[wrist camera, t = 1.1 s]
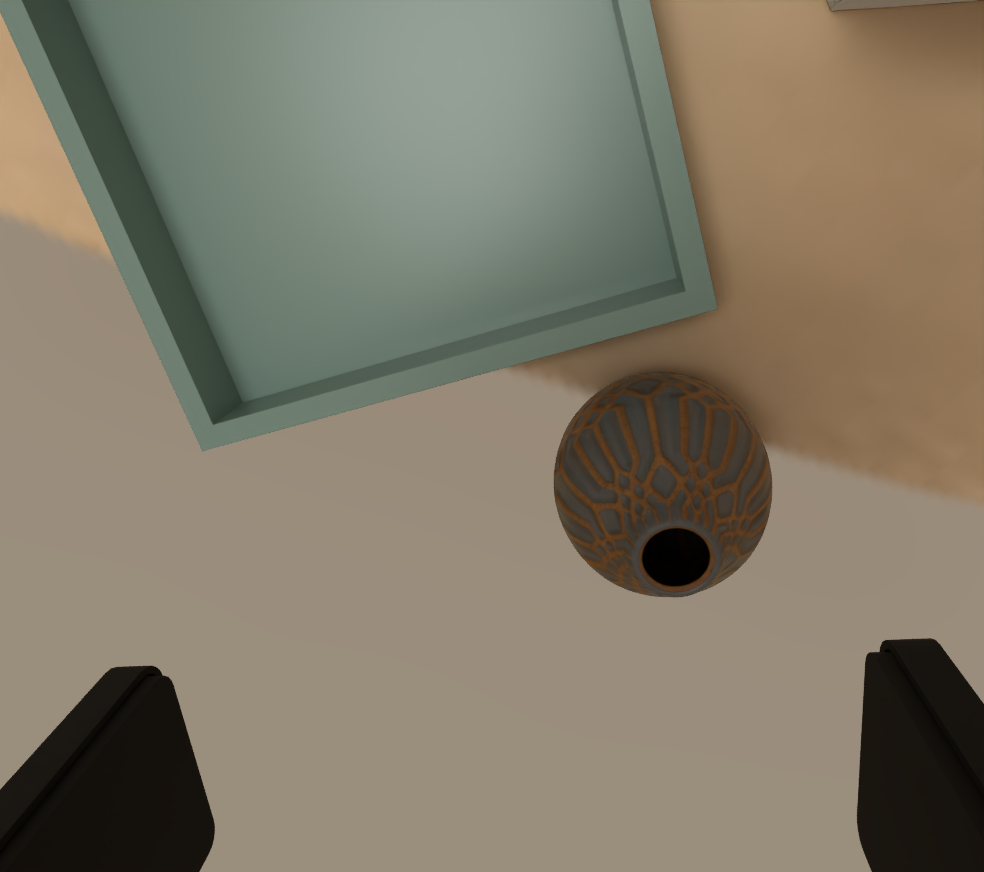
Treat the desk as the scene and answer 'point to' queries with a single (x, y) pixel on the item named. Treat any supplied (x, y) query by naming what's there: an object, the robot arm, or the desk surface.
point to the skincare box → (881, 3)
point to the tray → (369, 187)
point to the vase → (663, 484)
